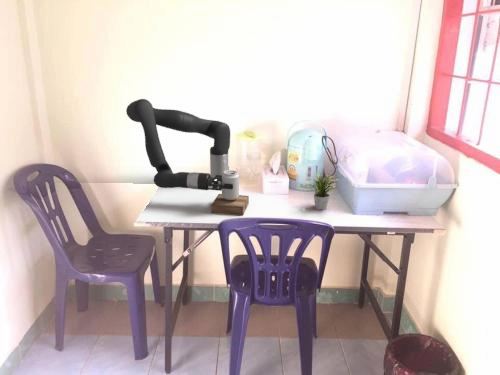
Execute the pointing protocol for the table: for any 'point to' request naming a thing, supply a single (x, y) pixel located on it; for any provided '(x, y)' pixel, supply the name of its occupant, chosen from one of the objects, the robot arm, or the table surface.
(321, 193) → the house plant
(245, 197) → the plinth
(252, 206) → the table surface
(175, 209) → the table surface
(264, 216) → the table surface
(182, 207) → the table surface
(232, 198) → the can
